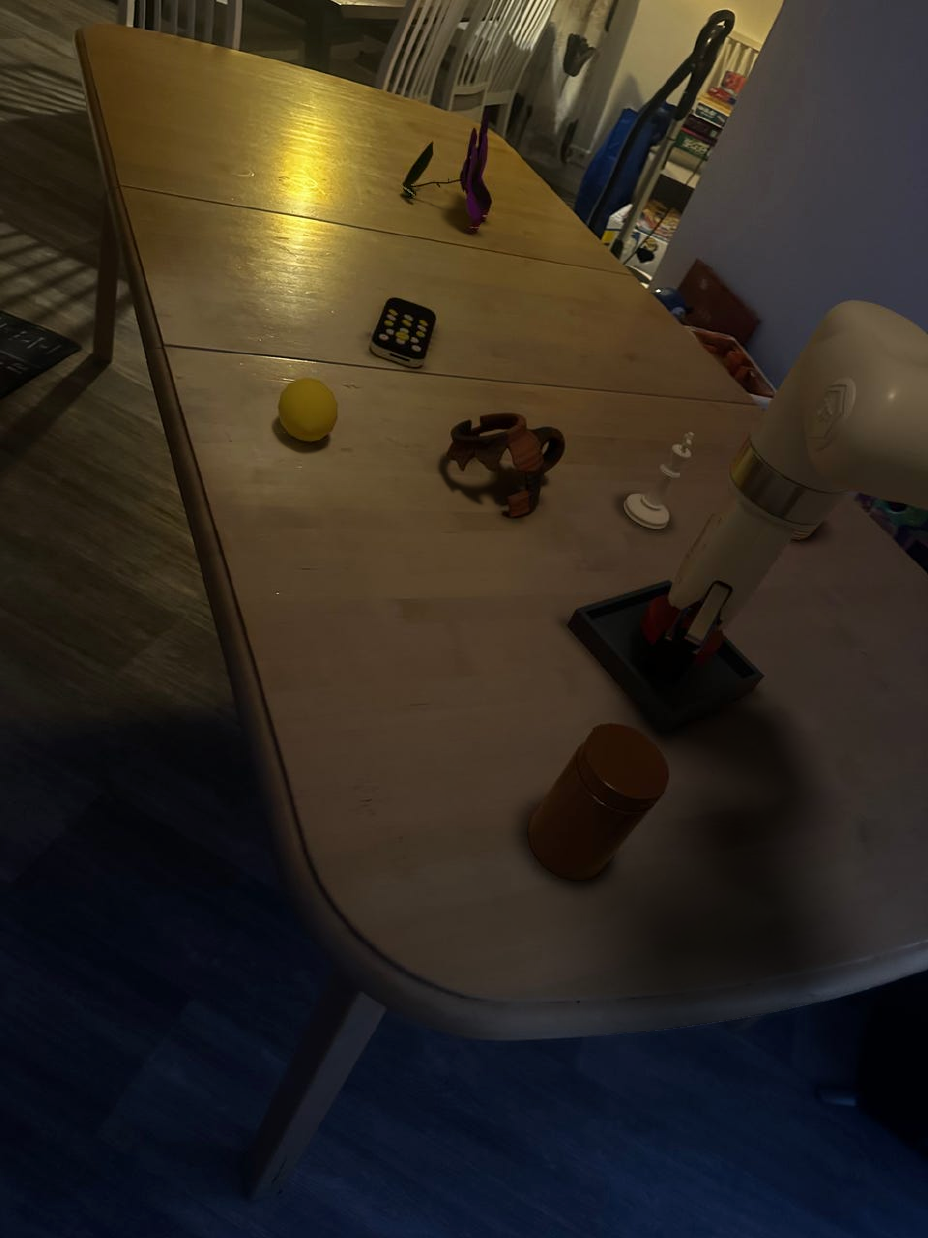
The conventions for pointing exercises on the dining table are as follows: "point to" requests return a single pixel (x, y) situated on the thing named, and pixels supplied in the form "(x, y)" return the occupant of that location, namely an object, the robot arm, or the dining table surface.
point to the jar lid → (662, 618)
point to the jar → (598, 801)
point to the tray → (625, 646)
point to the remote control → (403, 332)
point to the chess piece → (658, 490)
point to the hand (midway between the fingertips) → (668, 648)
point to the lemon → (308, 409)
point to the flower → (463, 174)
